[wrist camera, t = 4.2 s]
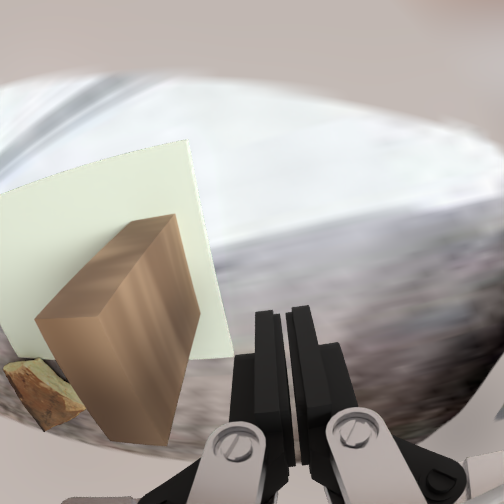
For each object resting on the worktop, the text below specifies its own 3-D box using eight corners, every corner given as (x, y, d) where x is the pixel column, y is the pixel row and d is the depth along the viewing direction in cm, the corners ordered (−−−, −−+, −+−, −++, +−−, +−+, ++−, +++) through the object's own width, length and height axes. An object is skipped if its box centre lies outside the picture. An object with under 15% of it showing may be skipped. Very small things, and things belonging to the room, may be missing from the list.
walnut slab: (175, 213, 16) (97, 316, 8) (200, 313, 18) (166, 446, 10) (131, 221, 16) (33, 319, 8) (160, 317, 18) (110, 440, 10)
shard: (48, 421, 26) (43, 434, 24) (-8, 379, 23) (-15, 391, 21) (94, 397, 23) (89, 413, 21) (23, 341, 20) (14, 357, 18)
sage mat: (188, 139, 15) (185, 139, 14) (233, 350, 20) (233, 356, 20) (-39, 211, 17) (-44, 213, 16) (21, 353, 22) (18, 357, 21)
